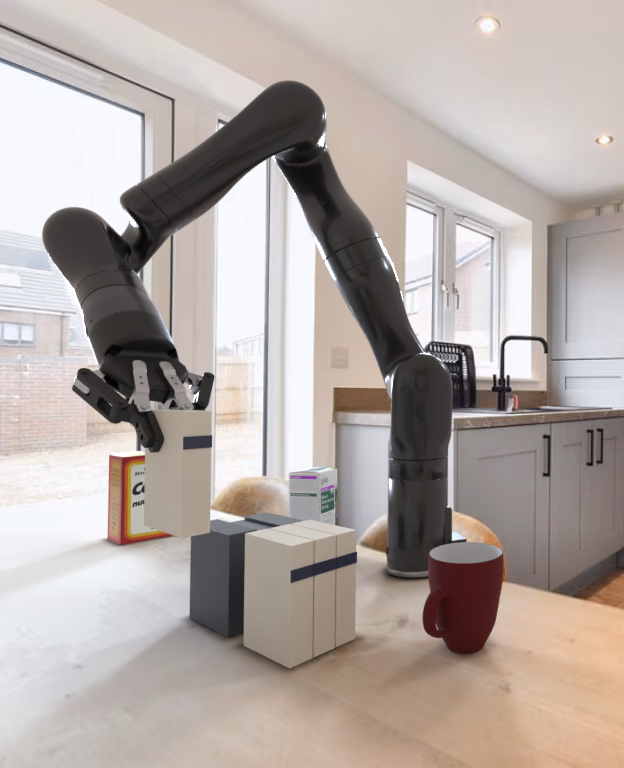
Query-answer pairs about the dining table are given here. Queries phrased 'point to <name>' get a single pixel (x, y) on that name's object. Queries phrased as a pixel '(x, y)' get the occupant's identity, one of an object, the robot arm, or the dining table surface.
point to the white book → (180, 474)
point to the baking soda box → (128, 500)
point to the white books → (299, 590)
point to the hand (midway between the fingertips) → (175, 445)
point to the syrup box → (314, 495)
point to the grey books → (224, 571)
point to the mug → (463, 594)
